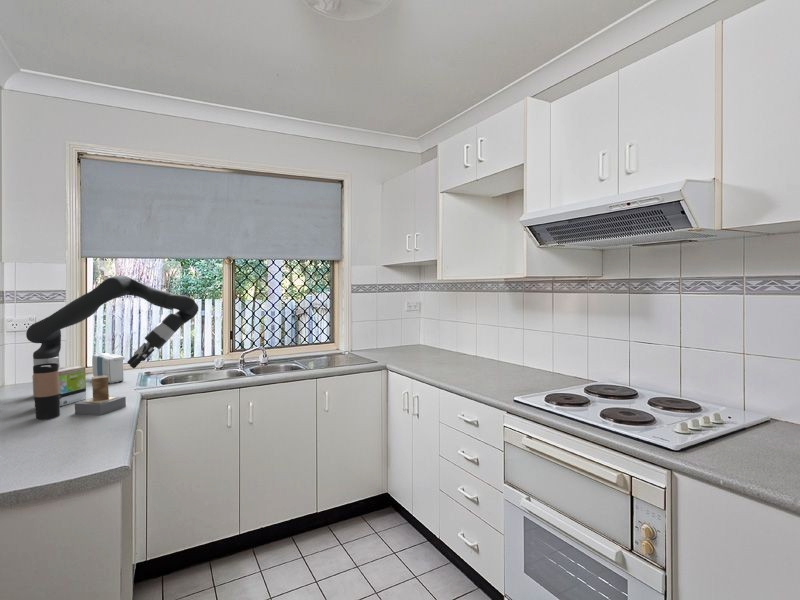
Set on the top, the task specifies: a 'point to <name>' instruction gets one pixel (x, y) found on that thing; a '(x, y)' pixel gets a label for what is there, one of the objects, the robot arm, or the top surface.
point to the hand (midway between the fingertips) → (130, 365)
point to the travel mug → (46, 391)
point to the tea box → (72, 384)
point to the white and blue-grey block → (108, 366)
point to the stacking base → (100, 405)
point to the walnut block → (100, 388)
